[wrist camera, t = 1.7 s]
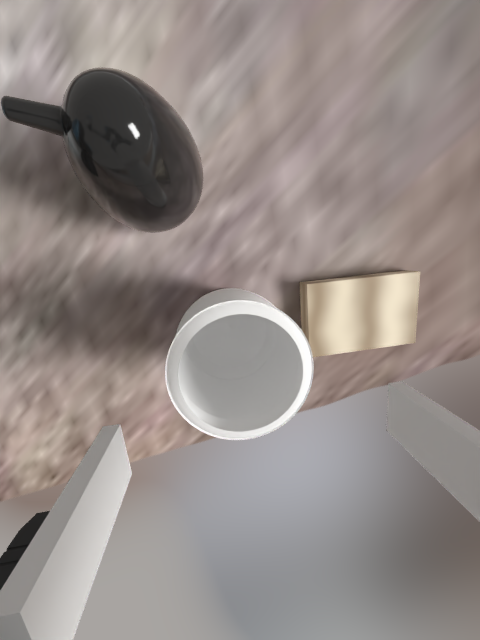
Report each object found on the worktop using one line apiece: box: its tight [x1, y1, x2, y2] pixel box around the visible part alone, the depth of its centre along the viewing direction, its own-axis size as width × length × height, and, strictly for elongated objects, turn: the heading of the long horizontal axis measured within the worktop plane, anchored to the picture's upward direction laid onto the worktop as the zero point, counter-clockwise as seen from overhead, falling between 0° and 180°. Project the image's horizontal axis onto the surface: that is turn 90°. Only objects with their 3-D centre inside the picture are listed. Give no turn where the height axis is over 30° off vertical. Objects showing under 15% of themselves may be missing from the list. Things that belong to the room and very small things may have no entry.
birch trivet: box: [300, 270, 420, 357], centre depth 33 cm, size 14×9×2 cm, turn 96°
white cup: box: [165, 288, 314, 440], centre depth 25 cm, size 11×10×15 cm
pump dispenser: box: [1, 68, 203, 233], centre depth 21 cm, size 10×10×15 cm
